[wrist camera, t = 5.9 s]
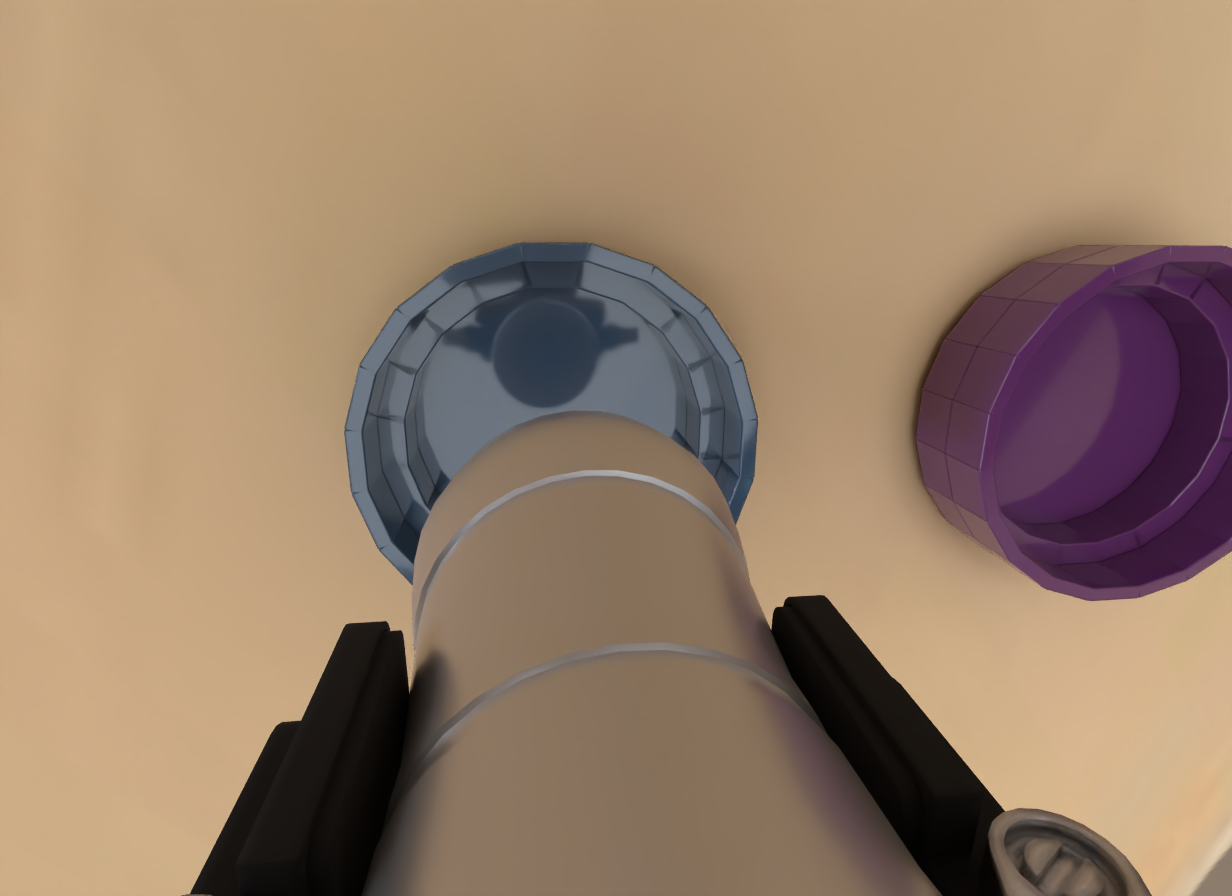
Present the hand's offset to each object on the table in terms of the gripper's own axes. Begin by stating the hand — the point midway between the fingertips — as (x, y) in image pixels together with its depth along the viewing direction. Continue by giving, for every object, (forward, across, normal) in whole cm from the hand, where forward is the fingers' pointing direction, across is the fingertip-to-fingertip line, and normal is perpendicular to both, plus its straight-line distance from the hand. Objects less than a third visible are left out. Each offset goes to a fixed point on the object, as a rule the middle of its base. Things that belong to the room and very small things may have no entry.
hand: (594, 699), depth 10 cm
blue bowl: (+19, 0, +1) cm, 19 cm away
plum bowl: (+19, -23, +1) cm, 30 cm away
